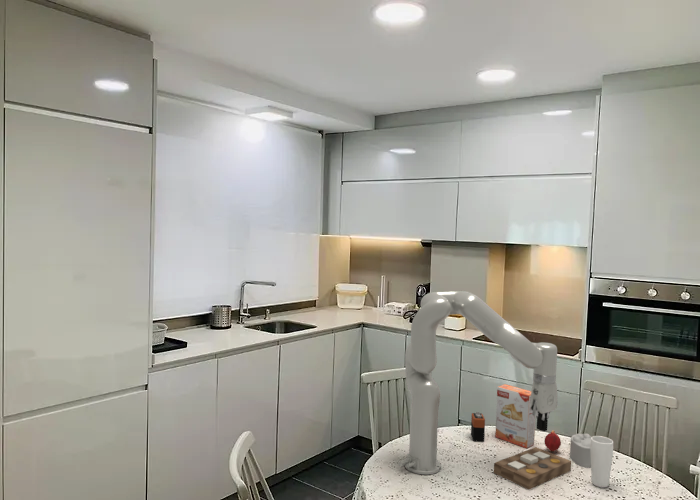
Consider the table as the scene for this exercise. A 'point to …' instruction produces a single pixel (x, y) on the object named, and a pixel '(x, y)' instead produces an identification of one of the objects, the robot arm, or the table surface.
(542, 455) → the button right
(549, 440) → the onion
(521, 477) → the button board
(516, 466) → the button left
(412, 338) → the robot arm
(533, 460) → the button middle
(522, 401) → the cracker box
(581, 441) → the lumpy-topped squat cylinder
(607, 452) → the drinking glass
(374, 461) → the table surface
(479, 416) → the battery
